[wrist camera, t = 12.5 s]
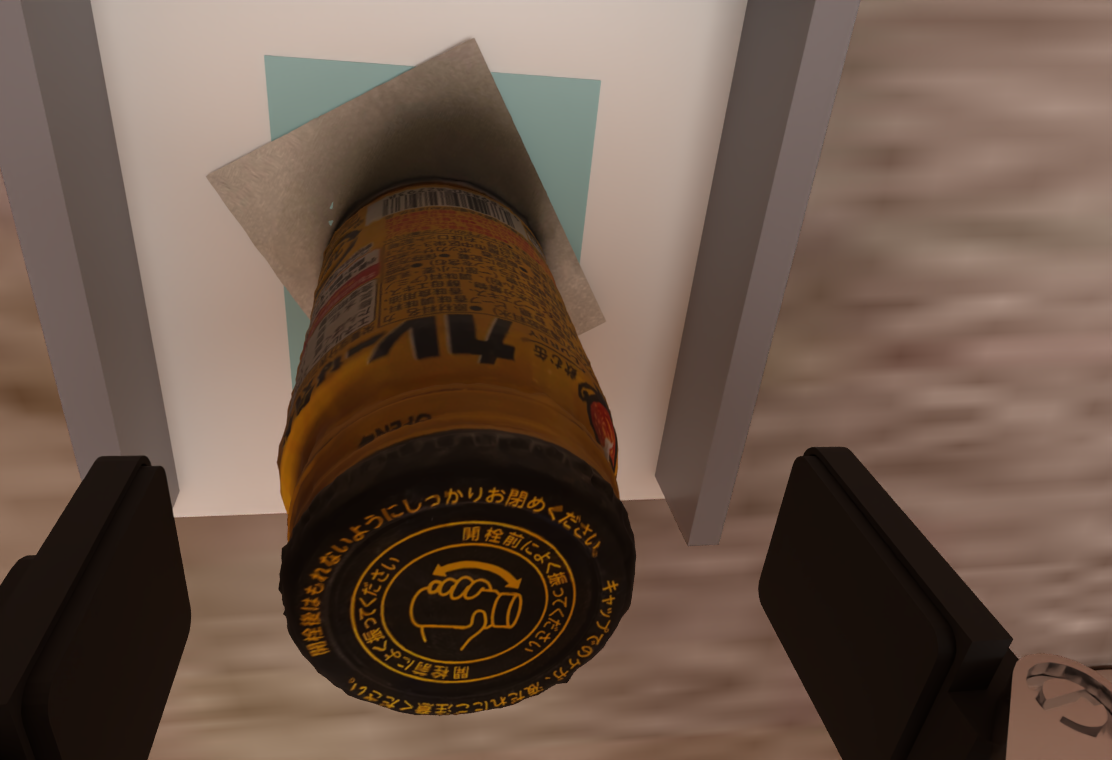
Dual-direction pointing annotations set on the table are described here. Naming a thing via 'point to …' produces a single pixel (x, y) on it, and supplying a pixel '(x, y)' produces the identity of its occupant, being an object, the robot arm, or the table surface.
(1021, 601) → the table surface
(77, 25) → the dock
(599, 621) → the condiment
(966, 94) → the table surface
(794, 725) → the table surface
